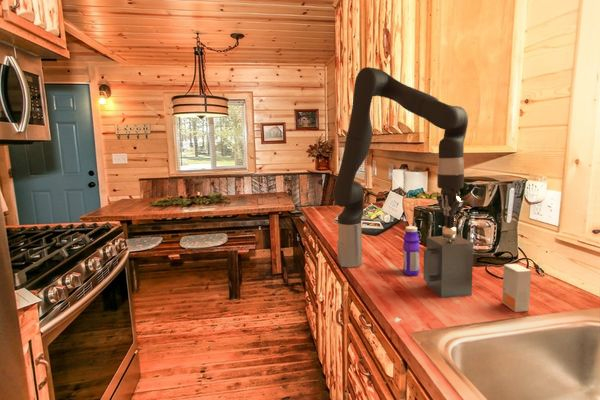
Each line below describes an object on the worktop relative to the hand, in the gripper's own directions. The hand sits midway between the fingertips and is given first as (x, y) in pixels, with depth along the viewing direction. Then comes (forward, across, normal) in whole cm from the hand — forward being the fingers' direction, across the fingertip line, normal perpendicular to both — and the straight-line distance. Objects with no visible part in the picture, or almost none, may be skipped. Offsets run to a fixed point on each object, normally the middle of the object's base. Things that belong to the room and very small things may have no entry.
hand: (449, 227), depth 113 cm
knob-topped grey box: (+21, 0, -1) cm, 21 cm away
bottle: (+21, -17, -5) cm, 27 cm away
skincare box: (+21, +15, +12) cm, 29 cm away
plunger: (+19, 0, 0) cm, 19 cm away
